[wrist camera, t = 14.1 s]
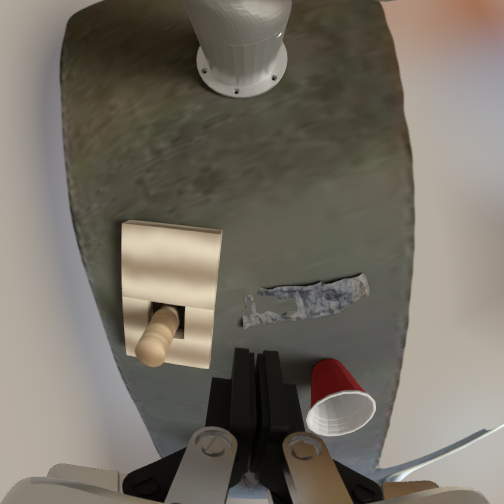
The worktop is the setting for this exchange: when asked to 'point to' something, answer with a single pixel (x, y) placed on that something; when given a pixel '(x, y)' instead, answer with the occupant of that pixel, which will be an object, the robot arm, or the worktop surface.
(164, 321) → the peg
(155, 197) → the worktop surface
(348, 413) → the plastic cup
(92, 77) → the worktop surface
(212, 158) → the worktop surface
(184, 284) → the board
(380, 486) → the robot arm
